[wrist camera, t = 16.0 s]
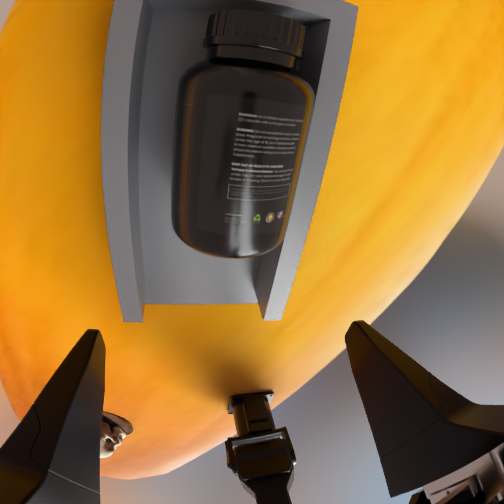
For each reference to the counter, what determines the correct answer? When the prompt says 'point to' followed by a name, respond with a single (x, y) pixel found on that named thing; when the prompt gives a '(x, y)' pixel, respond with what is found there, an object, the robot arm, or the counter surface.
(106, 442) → the skull
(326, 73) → the gray rectangular tray
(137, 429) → the counter surface
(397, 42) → the counter surface
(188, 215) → the supplement bottle
